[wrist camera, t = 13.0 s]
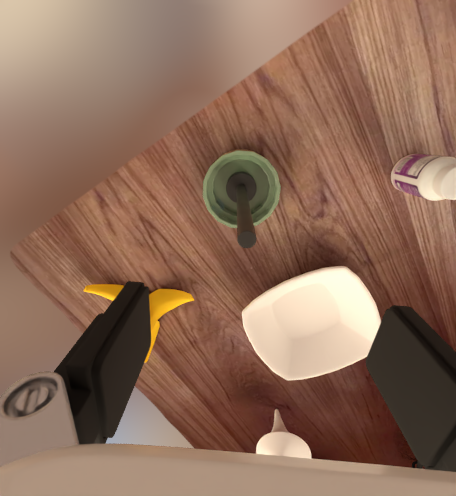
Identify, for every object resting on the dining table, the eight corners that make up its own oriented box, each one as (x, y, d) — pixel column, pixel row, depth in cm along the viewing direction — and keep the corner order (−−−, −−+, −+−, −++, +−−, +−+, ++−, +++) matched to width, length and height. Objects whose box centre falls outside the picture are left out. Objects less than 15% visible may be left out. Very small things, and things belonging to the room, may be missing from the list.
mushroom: (244, 406, 60) (246, 467, 49) (284, 387, 57) (295, 447, 46) (269, 430, 63) (276, 492, 52) (308, 412, 60) (324, 475, 49)
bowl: (340, 237, 43) (354, 250, 38) (380, 329, 50) (395, 350, 45) (226, 291, 48) (225, 309, 43) (277, 368, 55) (282, 390, 50)
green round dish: (208, 146, 38) (204, 147, 34) (280, 152, 38) (286, 154, 34) (204, 216, 42) (201, 224, 38) (269, 221, 42) (273, 231, 38)
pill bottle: (427, 185, 39) (483, 199, 30) (390, 194, 40) (434, 211, 31) (427, 148, 37) (487, 152, 28) (388, 159, 38) (435, 166, 29)
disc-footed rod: (227, 170, 39) (219, 208, 18) (257, 172, 39) (281, 213, 18) (225, 199, 40) (215, 263, 20) (253, 202, 40) (271, 268, 20)
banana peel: (146, 351, 54) (111, 437, 38) (90, 278, 47) (20, 347, 32) (218, 325, 51) (211, 407, 35) (168, 243, 44) (133, 301, 29)
